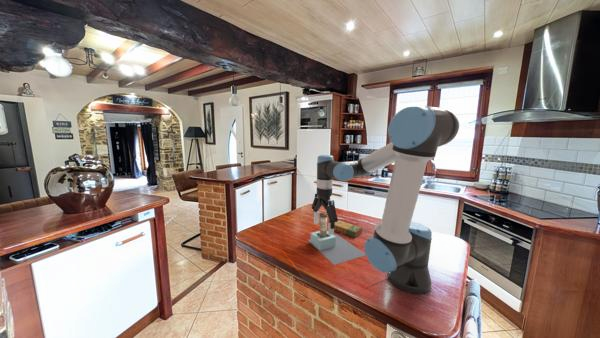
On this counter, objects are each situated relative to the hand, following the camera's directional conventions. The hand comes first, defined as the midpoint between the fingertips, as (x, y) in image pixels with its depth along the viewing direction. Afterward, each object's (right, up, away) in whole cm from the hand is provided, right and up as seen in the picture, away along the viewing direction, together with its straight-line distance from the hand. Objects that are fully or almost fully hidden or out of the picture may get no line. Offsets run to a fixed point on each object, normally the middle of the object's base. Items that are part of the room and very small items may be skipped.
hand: (323, 228), depth 110 cm
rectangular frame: (0, -8, +1) cm, 8 cm away
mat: (+6, -9, -1) cm, 11 cm away
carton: (+15, -7, +17) cm, 23 cm away
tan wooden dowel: (0, -8, +1) cm, 8 cm away
